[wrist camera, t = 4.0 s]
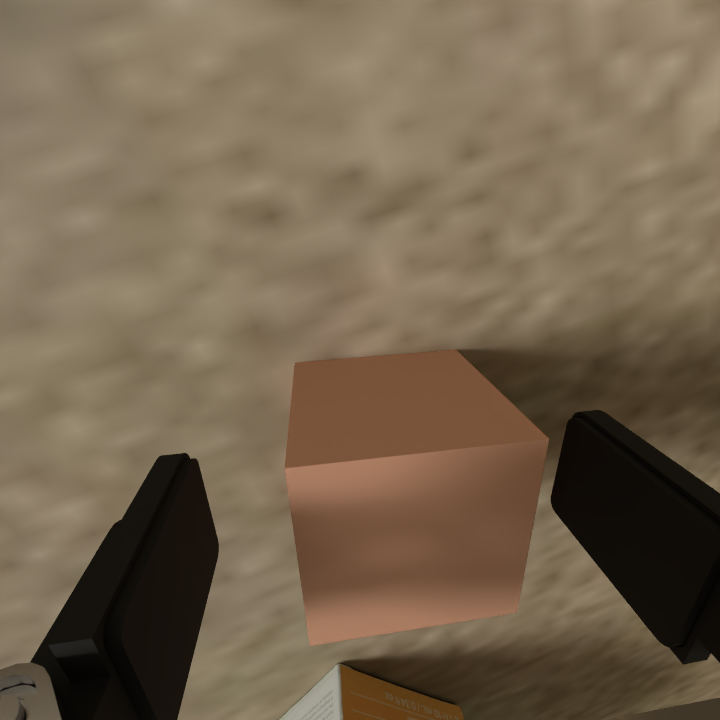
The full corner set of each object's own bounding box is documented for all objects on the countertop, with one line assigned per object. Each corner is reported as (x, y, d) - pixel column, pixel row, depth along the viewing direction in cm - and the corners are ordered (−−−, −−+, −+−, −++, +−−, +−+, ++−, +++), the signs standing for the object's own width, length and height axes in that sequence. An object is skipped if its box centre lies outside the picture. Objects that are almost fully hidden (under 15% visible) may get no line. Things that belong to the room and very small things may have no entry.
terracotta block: (454, 348, 12) (549, 438, 7) (446, 476, 14) (517, 612, 9) (295, 361, 11) (284, 468, 7) (309, 492, 13) (309, 645, 8)
